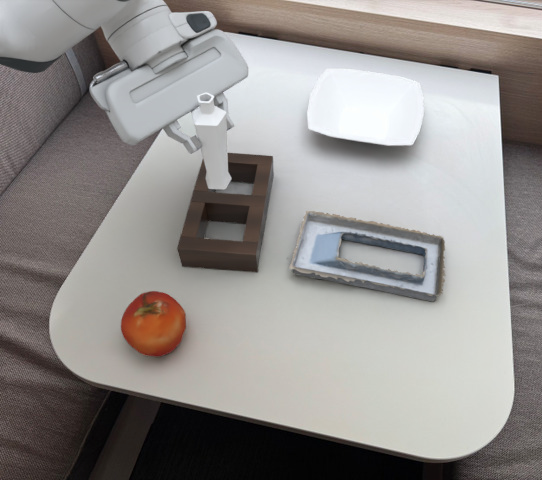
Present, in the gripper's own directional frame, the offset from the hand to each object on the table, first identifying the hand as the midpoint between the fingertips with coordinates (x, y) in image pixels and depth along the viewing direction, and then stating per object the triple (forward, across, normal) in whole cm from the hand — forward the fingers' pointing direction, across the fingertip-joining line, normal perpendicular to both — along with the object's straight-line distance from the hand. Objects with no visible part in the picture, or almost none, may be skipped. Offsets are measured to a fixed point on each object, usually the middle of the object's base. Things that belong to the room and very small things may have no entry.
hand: (213, 139), depth 71 cm
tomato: (+20, -19, +13) cm, 30 cm away
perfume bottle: (+6, 0, +6) cm, 9 cm away
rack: (+14, +4, +19) cm, 24 cm away
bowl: (+15, +40, +18) cm, 46 cm away
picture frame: (+31, +13, +2) cm, 33 cm away
